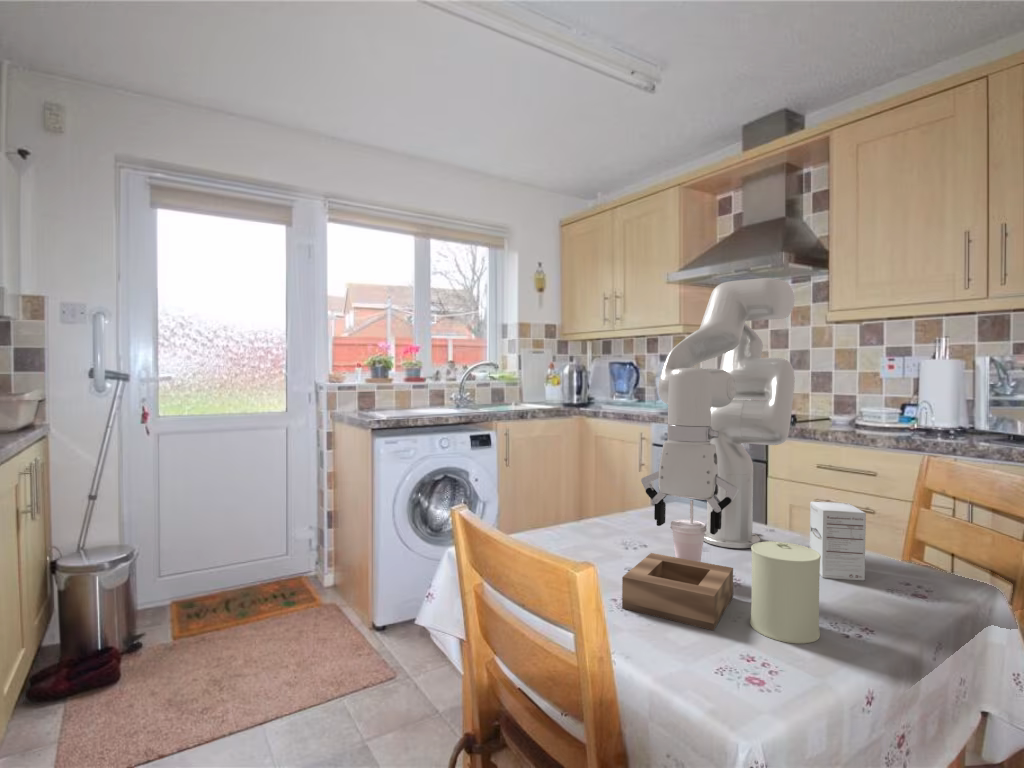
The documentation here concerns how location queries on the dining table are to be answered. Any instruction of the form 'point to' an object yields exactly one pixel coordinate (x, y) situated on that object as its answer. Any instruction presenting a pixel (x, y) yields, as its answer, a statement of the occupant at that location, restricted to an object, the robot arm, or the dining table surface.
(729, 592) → the socket block
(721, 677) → the dining table surface
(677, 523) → the smoothie
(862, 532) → the supplement box
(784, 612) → the can
